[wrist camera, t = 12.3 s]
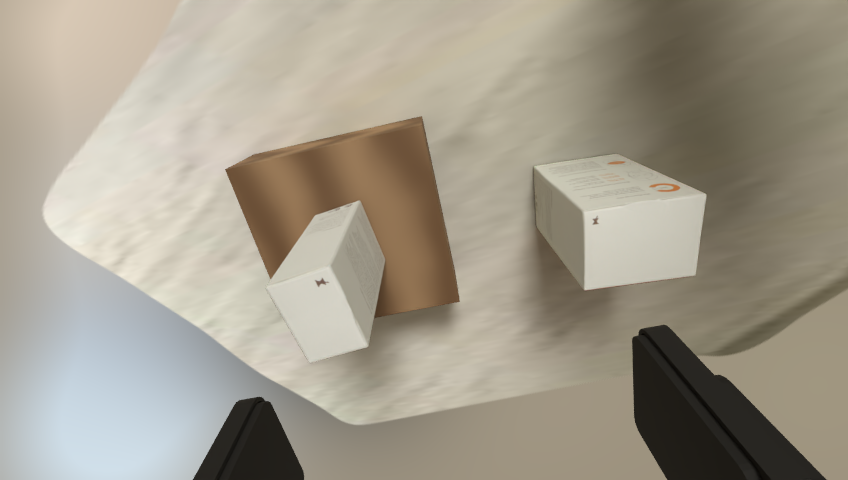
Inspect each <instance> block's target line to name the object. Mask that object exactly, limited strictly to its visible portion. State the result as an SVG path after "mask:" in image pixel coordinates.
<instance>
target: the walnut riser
mask: <svg viewBox="0 0 848 480" xmlns="http://www.w3.org/2000/svg"><path fill="white" fill-rule="evenodd" d="M225 170H226V172H227V175H228V177H229V180H230V182H231V184H232V187H233V189H234V192H235V194H236V197H237V199H238V201H239V204H240V206H241V209H242V211H243V214H244V216H245V218H246V221H247V223H248V226H249V228H250V230H251V233H252V235H253V238H254V240H255V243H256V245H257V247H258V250H259V252H260V255H261V257H262V260H263V262H264V264H265V267H266V269H267V272H268V274H269V276H270V279H271V278H272V277H273V276H274V274H275V273H276V271H277V270H278V268H279V267H280V265H281V264H282V262H283V261H284V260H285V258H286V257H287V255H288V254H289V252H290V251H291V250H292V248H293V247H294V245H295V244H296V242H297V241H298V239H299V238H300V237H301V235H302V234H303V232H304V231H305V229H306V228H307V226H308V225H309V224H310V222H311V221H312V219H313V218H314V216H315V215H317V214H321V213H324V212H327V211H330V210H333V209H336V208H338V207H341V206H344V205H347V204H350V203H353V202H356V201H361V203H362V206H363V208H364V211H365V213H366V215H367V218H368V220H369V222H370V225H371V227H372V229H373V232H374V234H375V236H376V239H377V241H378V244H379V246H380V248H381V251H382V253H383V255H384V258H385V265H384V270H383V275H382V280H381V285H380V290H379V295H378V301H377V306H376V310H375V316H374V318H375V317H381V316H386V315H391V314H396V313H402V312H407V311H412V310H417V309H423V308H428V307H433V306H439V305H444V304H449V303H454V302H460V300H459V294H458V288H457V282H456V275H455V270H454V265H453V260H452V255H451V251H450V246H449V241H448V237H447V232H446V227H445V223H444V218H443V213H442V209H441V204H440V199H439V194H438V190H437V185H436V180H435V176H434V171H433V166H432V162H431V157H430V152H429V147H428V143H427V138H426V133H425V129H424V124H423V119H422V116H421V117H417V118H412V119H408V120H404V121H399V122H395V123H390V124H386V125H382V126H377V127H373V128H369V129H364V130H360V131H355V132H351V133H347V134H342V135H338V136H333V137H329V138H325V139H320V140H316V141H312V142H307V143H303V144H298V145H294V146H290V147H285V148H281V149H276V150H272V151H268V152H263V153H259V154H255V155H252V156H250V157H248V158H246V159H245V160H243V161H241V162H239V163H237V164H235V165H233V166H231V167H229V168H227V169H225Z"/></svg>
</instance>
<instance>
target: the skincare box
mask: <svg viewBox="0 0 848 480" xmlns="http://www.w3.org/2000/svg"><path fill="white" fill-rule="evenodd" d="M384 265H385V258H384V255H383V253H382V251H381V248H380V246H379V244H378V241H377V239H376V236H375V234H374V232H373V229H372V227H371V225H370V222H369V220H368V218H367V215H366V213H365V211H364V208H363V206H362V203H361V201H356V202H353V203H350V204H347V205H344V206H341V207H338V208H336V209H333V210H330V211H327V212H324V213H321V214H317V215H315V216H314V218H313V219H312V221H311V222H310V224H309V225H308V226H307V228H306V229H305V231H304V232H303V234H302V235H301V237H300V238H299V239H298V241H297V242H296V244H295V245H294V247H293V248H292V250H291V251H290V252H289V254H288V255H287V257H286V258H285V260H284V261H283V262H282V264H281V265H280V267H279V268H278V270H277V271H276V273H275V274H274V276H273V277H272V278H271V280H270V281H269V283H268V284H267V286H266V290H267V292H268V294H269V295H270V297H271V299H272V301H273V302H274V304H275V306H276V307H277V309H278V311H279V313H280V314H281V316H282V318H283V319H284V321H285V323H286V324H287V326H288V328H289V329H290V331H291V333H292V334H293V336H294V338H295V340H296V341H297V343H298V345H299V346H300V348H301V350H302V352H303V353H304V355H305V357H306V359H307V360H308V362H309V363H313V362H317V361H320V360H323V359H327V358H330V357H334V356H338V355H342V354H345V353H349V352H353V351H357V350H360V349H365V348H367V347H368V346H369V342H370V336H371V331H372V326H373V321H374V316H375V310H376V306H377V301H378V295H379V290H380V285H381V280H382V275H383V270H384Z"/></svg>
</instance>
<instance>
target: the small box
mask: <svg viewBox="0 0 848 480" xmlns="http://www.w3.org/2000/svg"><path fill="white" fill-rule="evenodd" d="M534 187H535V207H536V227H537V228H538V230H539V231H540V232H541V234H542V235H543V236H544V238H545V239H546V240H547V242H548V243H549V245H550V246H551V247H552V249H553V250H554V251H555V252H556V254H557V255H558V256H559V258H560V259H561V261H562V262H563V263H564V265H565V266H566V267H567V269H568V270H569V271H570V273H571V274H572V275H573V277H574V278H575V279H576V281H577V282H578V283H579V285H580V286H581V287H582V288H583V290H584V291H588V290H595V289H602V288H610V287H617V286H625V285H632V284H639V283H647V282H654V281H661V280H669V279H676V278H684V277H691V276H695V275H696V269H697V262H698V253H699V246H700V238H701V231H702V224H703V217H704V210H705V203H706V197H707V195H706V194H705V193H703V192H701V191H699V190H696V189H694V188H692V187H690V186H688V185H685V184H683V183H681V182H679V181H677V180H674V179H672V178H670V177H668V176H666V175H663V174H661V173H659V172H657V171H655V170H652V169H650V168H648V167H646V166H643V165H641V164H639V163H637V162H634V161H632V160H630V159H628V158H626V157H623V156H621V155H619V154H611V155H604V156H597V157H590V158H583V159H577V160H570V161H564V162H557V163H551V164H545V165H538V166H534Z"/></svg>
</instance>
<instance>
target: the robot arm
mask: <svg viewBox="0 0 848 480" xmlns="http://www.w3.org/2000/svg"><path fill="white" fill-rule="evenodd" d="M632 349H633V384H634V385H633V387H634V418H635V423H636V426H637V428H638V431H639V433H640V434H641V436H642V438H643V439H644V441H645V443H646V444H647V446H648V448H649V450H650V451H651V453H652V455H653V456H654V458H655V460H656V461H657V463H658V465H659V466H660V468H661V470H662V472H663V473H664V475H665V477H666V478H667V480H826V479H825V478H824V477H823V476H822V475H821V474H820V473H819V472H818V471H817V470H816V469H815V468H814V467H813V466H812V464H811V463H810V462H809V461H807V459H806V458H805V457H804V456H803V455H802V454H801V453H800V452H799V451H798V450H797V449H796V448H795V447H794V446H793V445H792V444H791V443H790V442H789V441H788V440H787V439H786V438H785V437H784V436H783V435H782V434H781V433H780V432H779V431H778V430H777V429H776V428H775V427H774V426H773V425H772V424H771V423H770V422H769V421H768V420H767V419H766V417H764V416H763V414H762V413H760V411H759V410H758V409H757V408H756V407H755V406H754V405H753V404H752V403H751V402H750V401H749V400H748V399H747V398H746V397H745V396H744V395H743V394H742V393H741V392H740V391H739V390H738V389H737V388H736V387H735V386H734V385H733V384H732V383H731V382H730V381H729V380H728V379H727V378H725V377H723V376H721V375H714V374H713V373H712V372H711V371H710V370H709V369H708V368H707V367H706V366H705V365H704V364H703V363H702V362H701V361H700V360H699V358H698V357H697V356H696V355H695V354H694V353H693V352H692V351H691V350H690V349H689V348H688V347H687V346H686V345H685V344H684V343H683V342H682V341H681V339H680V338H679V337H678V336H677V335H676V334H675V333H674V332H673V331H672V330H671V329H670V328H669V327H668V326H666V325H661V326H655V327H649V328H644V329H640V331H639V335H638V336H634V337H633V339H632ZM193 480H304V473H303V470H302V467H301V465H300V464H299V461H298V459H297V457H296V455H295V453H294V451H293V449H292V447H291V444H290V443H289V440H288V438H287V436H286V434H285V432H284V430H283V428H282V425H281V423H280V421H279V419H278V417H277V415H276V413H275V411H274V409H273V407H272V405H271V403H270V402H268V401H266V402H265V400H264V399H263V398H262V397H256V398H250V399H245V400H239V401H238V402H236V404H235V405H234V407H233V409H232V410H231V412H230V414H229V416H228V418H227V419H226V421H225V423H224V425H223V427H222V428H221V430H220V432H219V434H218V436H217V437H216V439H215V441H214V443H213V445H212V446H211V448H210V450H209V452H208V454H207V455H206V457H205V459H204V461H203V463H202V464H201V466H200V468H199V470H198V472H197V473H196V475H195V477H194V479H193Z"/></svg>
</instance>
